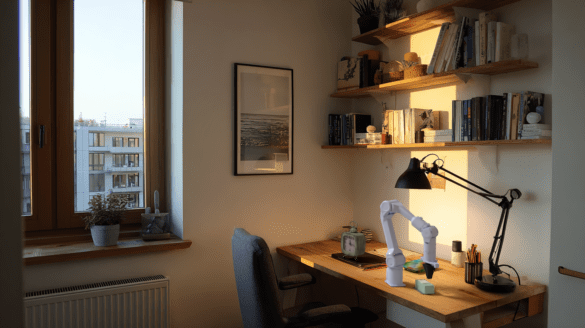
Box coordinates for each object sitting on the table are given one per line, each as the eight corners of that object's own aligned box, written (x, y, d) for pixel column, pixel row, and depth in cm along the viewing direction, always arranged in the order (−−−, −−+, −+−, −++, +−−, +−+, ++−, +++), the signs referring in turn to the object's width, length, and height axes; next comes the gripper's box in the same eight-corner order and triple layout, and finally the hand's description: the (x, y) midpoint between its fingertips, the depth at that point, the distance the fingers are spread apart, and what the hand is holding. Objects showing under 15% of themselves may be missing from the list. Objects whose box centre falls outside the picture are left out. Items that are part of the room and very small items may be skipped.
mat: (412, 287, 212) (412, 287, 212) (425, 287, 213) (425, 286, 213) (422, 294, 202) (422, 293, 202) (435, 293, 203) (435, 293, 203)
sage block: (424, 294, 202) (415, 287, 212) (434, 293, 203) (424, 286, 213) (424, 285, 202) (415, 279, 212) (434, 284, 203) (424, 278, 212)
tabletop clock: (340, 258, 270) (341, 220, 269) (350, 256, 276) (351, 218, 275) (356, 263, 259) (357, 223, 258) (366, 261, 264) (367, 221, 263)
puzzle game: (436, 261, 247) (415, 266, 235) (436, 269, 247) (415, 275, 235) (420, 257, 256) (399, 262, 245) (420, 265, 257) (399, 270, 245)
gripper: (445, 254, 196) (444, 282, 196) (429, 247, 210) (429, 274, 210) (431, 254, 195) (431, 283, 195) (416, 247, 209) (416, 274, 209)
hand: (429, 278), depth 203 cm, fingers closed
